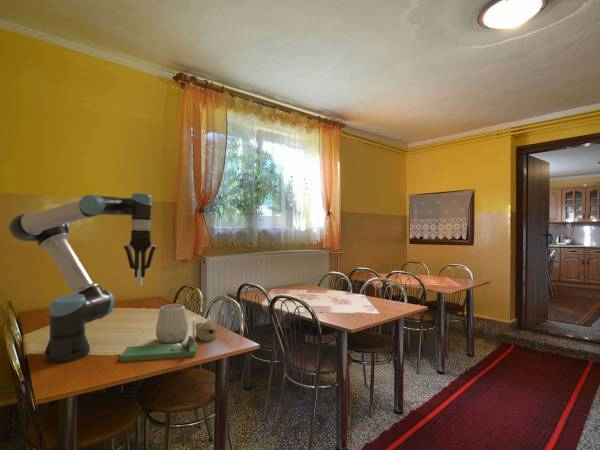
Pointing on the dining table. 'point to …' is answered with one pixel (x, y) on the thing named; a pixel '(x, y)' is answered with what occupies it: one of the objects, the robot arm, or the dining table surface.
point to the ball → (177, 347)
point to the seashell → (206, 331)
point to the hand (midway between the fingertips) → (139, 284)
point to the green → (160, 351)
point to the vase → (172, 324)
